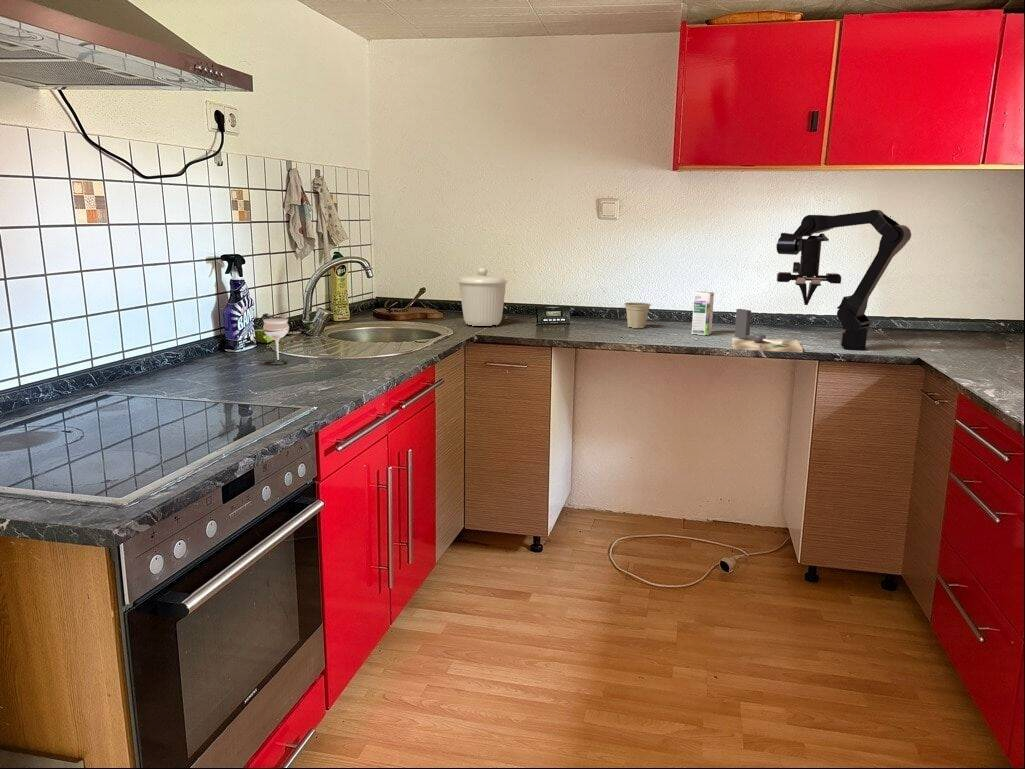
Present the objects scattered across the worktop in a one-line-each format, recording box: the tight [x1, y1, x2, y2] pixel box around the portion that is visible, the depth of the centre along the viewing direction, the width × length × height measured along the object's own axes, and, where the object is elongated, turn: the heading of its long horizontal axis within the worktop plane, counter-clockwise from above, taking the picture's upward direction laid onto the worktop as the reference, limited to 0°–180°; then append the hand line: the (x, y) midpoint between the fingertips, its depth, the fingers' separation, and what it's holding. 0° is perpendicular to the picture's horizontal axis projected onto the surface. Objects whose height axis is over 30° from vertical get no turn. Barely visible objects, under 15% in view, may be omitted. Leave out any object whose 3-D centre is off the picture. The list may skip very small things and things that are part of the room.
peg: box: [734, 308, 783, 345], centre depth 240 cm, size 4×20×9 cm, turn 25°
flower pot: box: [624, 302, 652, 329], centre depth 277 cm, size 9×9×9 cm
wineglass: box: [262, 317, 290, 361], centre depth 209 cm, size 7×7×12 cm
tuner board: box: [731, 337, 804, 353], centre depth 240 cm, size 20×17×1 cm
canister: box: [457, 267, 508, 327], centre depth 280 cm, size 18×18×21 cm
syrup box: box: [691, 291, 715, 336], centre depth 262 cm, size 6×6×14 cm
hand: (806, 305), depth 246 cm, fingers closed
